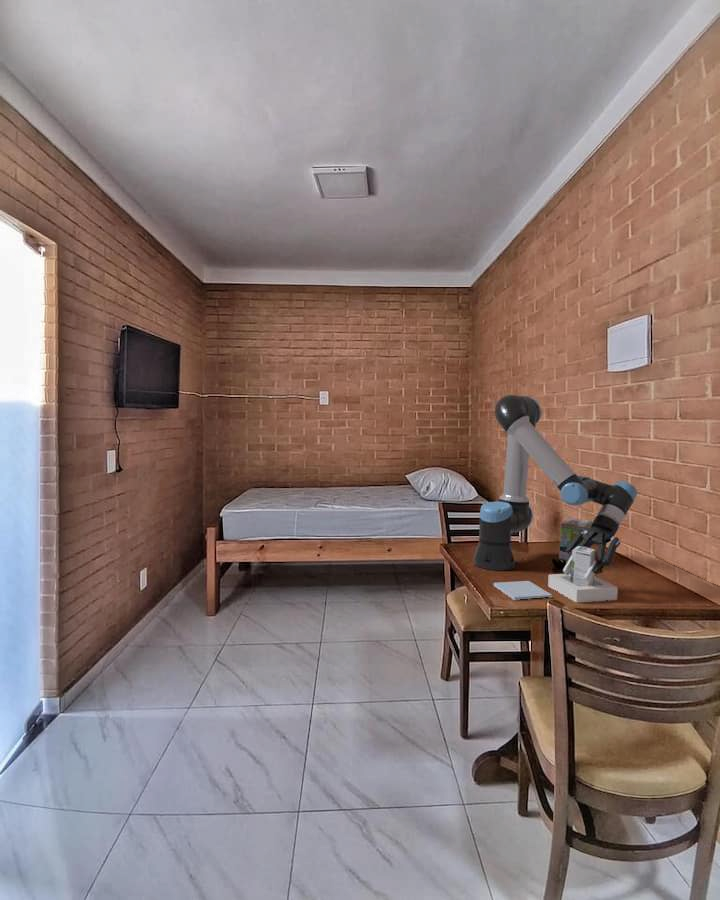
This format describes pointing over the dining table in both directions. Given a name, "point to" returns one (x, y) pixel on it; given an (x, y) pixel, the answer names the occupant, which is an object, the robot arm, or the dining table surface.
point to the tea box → (571, 533)
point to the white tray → (583, 589)
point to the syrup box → (581, 565)
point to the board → (522, 590)
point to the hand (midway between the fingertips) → (575, 576)
